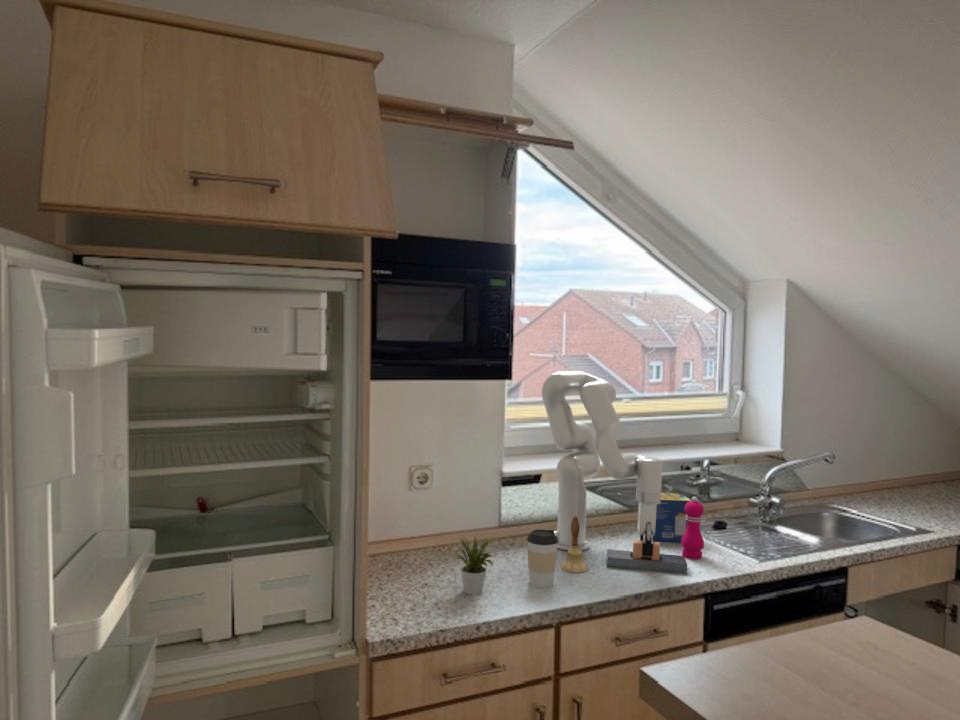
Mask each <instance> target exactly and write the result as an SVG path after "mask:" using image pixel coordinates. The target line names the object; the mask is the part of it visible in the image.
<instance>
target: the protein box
mask: <svg viewBox="0 0 960 720" xmlns="http://www.w3.org/2000/svg"><path fill="white" fill-rule="evenodd" d="M689 501H692V499H690V498H689V497H687V496H686V495H685V494H683V493H681V492H680V493H679V492H675V493H674V492H661V503H660V504H657V510H656V527H655V535H654V536H653V542H662V543H661V544H663V543H664V544H681V541H682V537H683V535H684V533H685V531H686V529H687V520H686V515H687V513H686V512H685V505H686V503H687V502H689ZM666 542H667V543H666Z"/></svg>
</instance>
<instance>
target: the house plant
mask: <svg viewBox="0 0 960 720" xmlns="http://www.w3.org/2000/svg"><path fill="white" fill-rule="evenodd" d="M478 533H479V532H476V534H475V536H474V539H473V544H472V548H470V545H469V542H468V540H467V538H466V537H465V536H464V535H462V534H460V536H458V537H457V538H458V540H460V541H461V543H462V545H461V544H458V549H459V550H460V551H461V552H462V554H463V556H464V557H463V556H462V555H461V554H460V553H459V554H458V553H456V554H454V555H452V557H453V558H455V560H459V561H461V562H462V563H464V564H465V565H463V566H462V567H461V568H460V570H461V579H462V585H463V586H462V588H463V592H464V593H465V594H467V595H471V596H475V595H477V596H478V595H481V594H482V593H483V590H484V585H485V580H486V575H487V568H488V563H489V564H491V565H492V567H494V565H493V564H494V562H493V561H492V560H490V559H487V558H491V557H492V558H493V557H494V556H493V555H492V554H490V553H489V552H485V551H486V550H487V549H488V548H489V547H491V546H492V545H493V546H494V543H492V544H490V545H489V542H490V541H491V539H493V538H494V535H493V536H490V537H489V538H487V539H486V540H485V541H484V542H483V544H482V545H480V547H479V548H478V546H479V544H480V542H482V541H483V540H484V538H482V539H481V540H480V541H479V542H478V538H477V536H478ZM461 536H462V537H463V538H464V539H465V540H464V539H463V538H462V537H461ZM446 538H448V539H450V537H447V536H446ZM451 539H452V540H454V541H456V539H455V538H454V537H451ZM488 545H489V546H488ZM459 546H460V547H459ZM487 546H488V547H487ZM486 547H487V548H486ZM464 549H465V550H464ZM459 561H458V562H459Z"/></svg>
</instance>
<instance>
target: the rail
mask: <svg viewBox="0 0 960 720" xmlns="http://www.w3.org/2000/svg"><path fill="white" fill-rule="evenodd" d="M606 566H607V568H618V569H627V570H629V569H630V570H639V571H651V572H661V573H670V574H671V573H672V574H680V573H682V574H681V575H687V574H688V563H687V560H686V557H684V556H683V555H676V554H675V555H674V554H668V553H667V554H665V553H660V560H652V559H651V557H643V556H641V558H633V550H632V551H629V550H621V549H619V550H618V549H608V548H607V549H606Z"/></svg>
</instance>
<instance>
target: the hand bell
mask: <svg viewBox="0 0 960 720" xmlns="http://www.w3.org/2000/svg"><path fill="white" fill-rule="evenodd" d="M571 533H572V549H569V550H567V554H566V557H565V560H564V562H563V563H562V564H561V565H560V568H561V569H562V570H563V571H565V572H567V573H573V574H575V573H577V574H581V573H585V572H588V570H589V568H588V566H587V565H586V563H585V561H584V559H583V550H582V551H581V550H579V549H578V544H577V543H578V542H577V537H578V534H579V522H578V518H577V517H573V520H572V523H571Z"/></svg>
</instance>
